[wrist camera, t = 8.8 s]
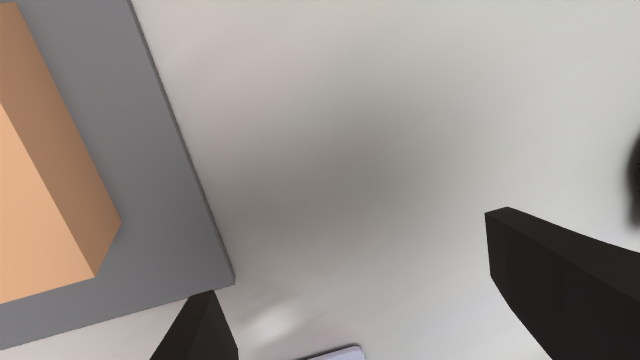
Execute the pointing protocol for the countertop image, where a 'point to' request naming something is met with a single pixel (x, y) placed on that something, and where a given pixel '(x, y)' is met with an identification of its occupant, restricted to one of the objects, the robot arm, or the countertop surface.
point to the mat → (121, 174)
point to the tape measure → (638, 177)
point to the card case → (44, 177)
